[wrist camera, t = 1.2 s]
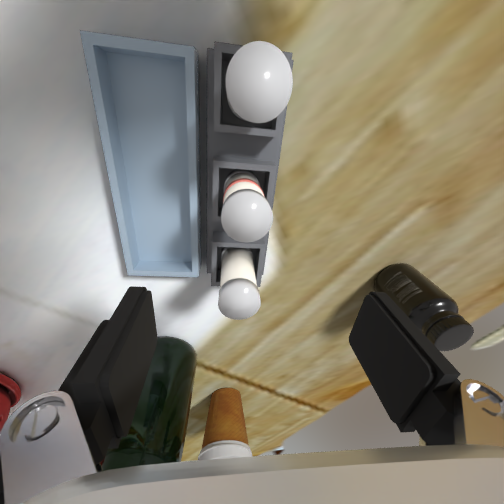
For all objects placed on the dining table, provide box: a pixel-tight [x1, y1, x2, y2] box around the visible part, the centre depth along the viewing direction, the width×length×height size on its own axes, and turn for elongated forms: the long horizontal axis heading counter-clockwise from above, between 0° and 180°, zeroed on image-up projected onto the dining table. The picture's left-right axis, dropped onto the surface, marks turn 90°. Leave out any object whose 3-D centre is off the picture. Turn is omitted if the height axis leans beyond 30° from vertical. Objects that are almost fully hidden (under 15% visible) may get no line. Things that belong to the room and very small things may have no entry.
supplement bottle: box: [375, 263, 474, 351], centre depth 34 cm, size 7×7×12 cm
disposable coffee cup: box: [198, 388, 252, 460], centre depth 46 cm, size 10×10×12 cm
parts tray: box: [80, 30, 201, 277], centre depth 27 cm, size 24×9×3 cm, turn 175°
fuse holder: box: [207, 42, 293, 287], centre depth 27 cm, size 25×8×4 cm, turn 175°
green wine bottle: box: [100, 337, 197, 471], centre depth 29 cm, size 10×10×33 cm
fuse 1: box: [226, 41, 293, 123], centre depth 19 cm, size 4×4×10 cm
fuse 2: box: [218, 247, 261, 320], centre depth 28 cm, size 4×4×10 cm
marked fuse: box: [221, 169, 273, 243], centre depth 24 cm, size 4×4×10 cm
